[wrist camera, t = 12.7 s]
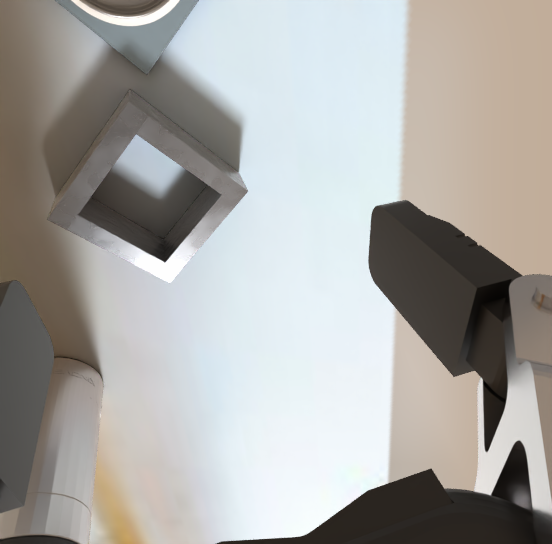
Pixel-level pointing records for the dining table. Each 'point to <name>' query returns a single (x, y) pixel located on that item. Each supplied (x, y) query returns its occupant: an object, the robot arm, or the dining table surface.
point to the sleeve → (125, 233)
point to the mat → (136, 33)
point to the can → (127, 10)
